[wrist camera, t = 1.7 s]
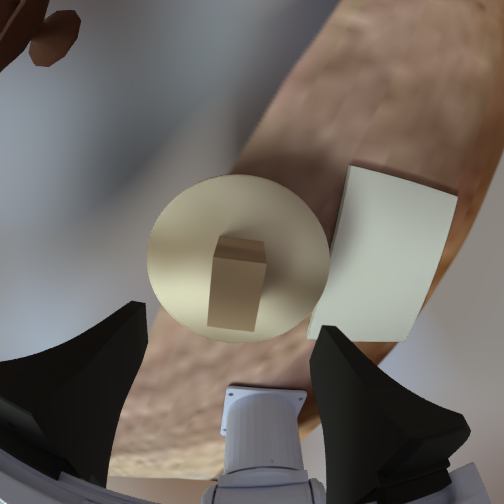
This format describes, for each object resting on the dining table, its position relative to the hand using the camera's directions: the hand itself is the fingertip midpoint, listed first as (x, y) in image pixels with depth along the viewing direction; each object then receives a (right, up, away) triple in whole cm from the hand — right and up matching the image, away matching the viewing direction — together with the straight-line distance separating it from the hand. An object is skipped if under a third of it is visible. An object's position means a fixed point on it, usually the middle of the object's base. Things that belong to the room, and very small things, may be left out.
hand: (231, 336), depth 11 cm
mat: (+11, +2, +10) cm, 15 cm away
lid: (0, +3, +6) cm, 7 cm away
